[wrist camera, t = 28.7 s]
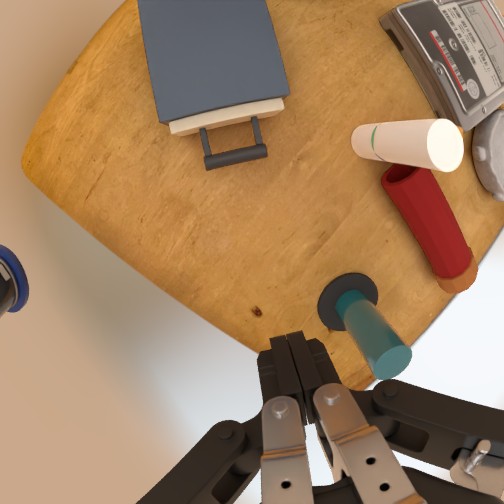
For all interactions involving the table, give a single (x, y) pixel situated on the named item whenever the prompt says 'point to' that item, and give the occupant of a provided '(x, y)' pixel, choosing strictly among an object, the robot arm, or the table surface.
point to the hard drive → (453, 54)
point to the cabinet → (210, 55)
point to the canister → (373, 335)
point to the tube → (411, 143)
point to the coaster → (337, 289)
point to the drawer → (229, 117)
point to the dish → (490, 153)
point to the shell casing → (432, 225)
